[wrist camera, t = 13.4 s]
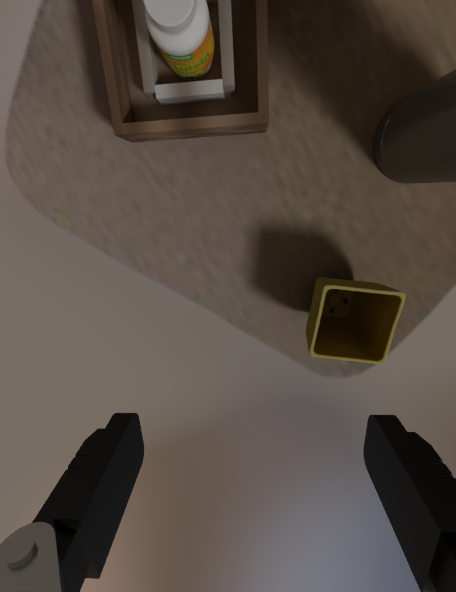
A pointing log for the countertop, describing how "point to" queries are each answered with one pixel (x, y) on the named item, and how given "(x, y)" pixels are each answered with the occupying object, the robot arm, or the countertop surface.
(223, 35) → the walled box
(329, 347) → the flower pot
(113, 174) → the countertop surface
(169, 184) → the countertop surface
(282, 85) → the countertop surface
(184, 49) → the supplement bottle
